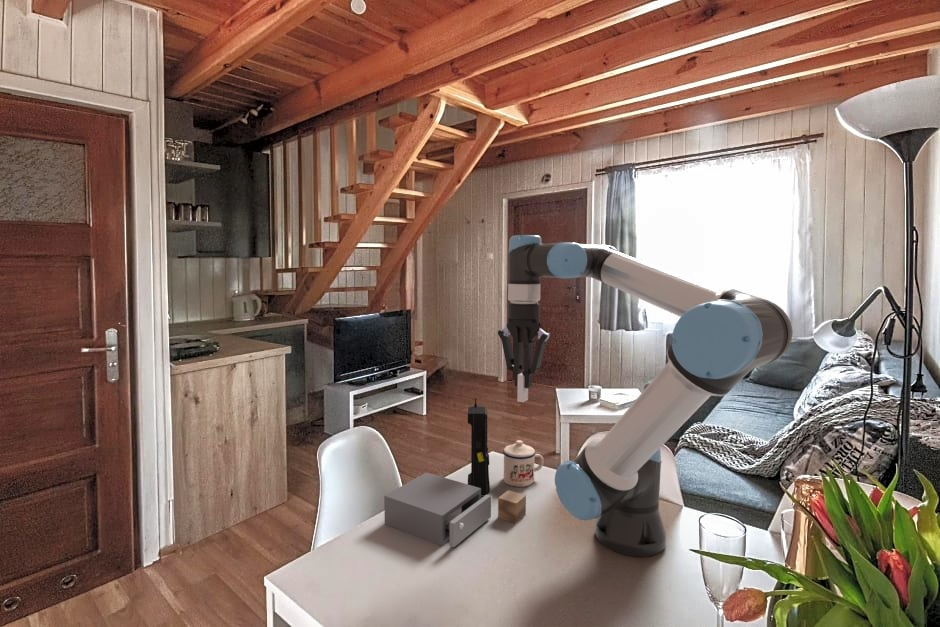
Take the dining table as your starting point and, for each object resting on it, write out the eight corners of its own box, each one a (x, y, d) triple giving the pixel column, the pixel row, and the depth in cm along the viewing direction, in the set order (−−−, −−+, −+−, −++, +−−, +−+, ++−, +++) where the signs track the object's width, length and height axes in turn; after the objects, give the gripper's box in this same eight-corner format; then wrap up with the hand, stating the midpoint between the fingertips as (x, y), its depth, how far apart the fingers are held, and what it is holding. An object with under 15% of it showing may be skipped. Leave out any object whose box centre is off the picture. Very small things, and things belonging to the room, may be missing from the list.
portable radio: (490, 498, 133) (490, 405, 130) (467, 497, 133) (467, 405, 130) (489, 484, 140) (490, 397, 138) (468, 484, 141) (468, 397, 138)
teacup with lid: (508, 489, 138) (509, 448, 137) (498, 475, 146) (499, 437, 145) (549, 484, 141) (550, 444, 140) (536, 471, 150) (537, 433, 148)
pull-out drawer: (492, 517, 121) (492, 496, 121) (456, 548, 108) (456, 524, 108) (432, 498, 131) (432, 478, 131) (392, 524, 118) (392, 502, 117)
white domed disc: (468, 513, 121) (468, 501, 120) (448, 528, 114) (448, 515, 114) (441, 504, 125) (441, 493, 125) (421, 518, 118) (421, 506, 118)
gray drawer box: (480, 515, 123) (481, 488, 123) (442, 546, 110) (442, 515, 109) (426, 497, 133) (426, 472, 132) (384, 524, 119) (384, 495, 118)
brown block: (525, 514, 124) (526, 495, 123) (516, 523, 120) (516, 503, 119) (507, 509, 127) (508, 490, 126) (498, 517, 122) (498, 497, 122)
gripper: (556, 302, 117) (554, 401, 119) (507, 299, 124) (506, 393, 126) (543, 304, 111) (541, 408, 113) (491, 301, 118) (491, 400, 120)
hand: (522, 400), depth 120 cm, fingers closed
